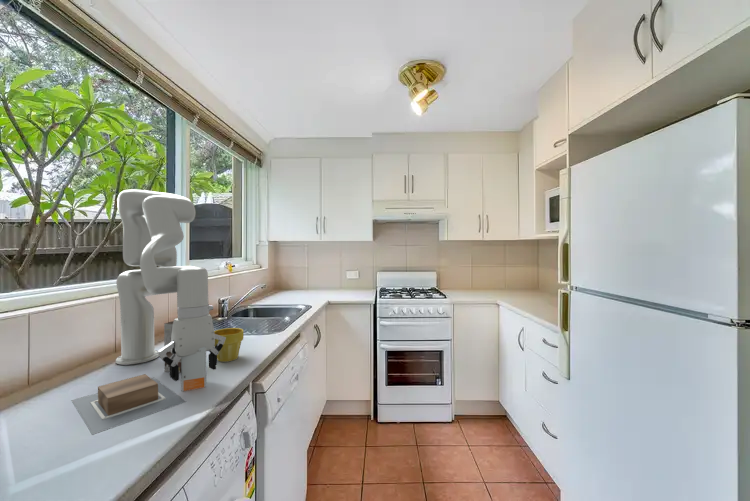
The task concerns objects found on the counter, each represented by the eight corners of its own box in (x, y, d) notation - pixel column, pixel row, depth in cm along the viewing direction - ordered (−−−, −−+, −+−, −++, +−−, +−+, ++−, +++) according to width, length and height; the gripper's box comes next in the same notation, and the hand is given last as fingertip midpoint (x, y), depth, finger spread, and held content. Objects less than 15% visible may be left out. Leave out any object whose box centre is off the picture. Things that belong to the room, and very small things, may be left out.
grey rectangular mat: (71, 404, 82) (71, 399, 82) (153, 380, 96) (153, 376, 96) (92, 439, 67) (92, 433, 67) (186, 405, 81) (186, 400, 81)
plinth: (98, 402, 81) (97, 386, 80) (145, 388, 88) (145, 374, 88) (108, 415, 74) (107, 398, 74) (158, 399, 82) (158, 383, 82)
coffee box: (181, 376, 99) (180, 324, 99) (163, 374, 100) (162, 323, 100) (202, 365, 108) (202, 317, 108) (186, 364, 109) (185, 316, 109)
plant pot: (249, 354, 118) (249, 328, 118) (232, 364, 108) (232, 335, 108) (224, 353, 120) (223, 327, 120) (205, 363, 110) (204, 334, 110)
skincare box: (181, 395, 86) (180, 350, 86) (182, 389, 90) (181, 346, 90) (206, 390, 89) (206, 347, 89) (206, 384, 93) (206, 343, 93)
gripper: (218, 306, 98) (219, 362, 98) (152, 316, 85) (153, 380, 85) (230, 308, 94) (231, 367, 94) (162, 319, 80) (164, 388, 80)
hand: (194, 373), depth 89 cm, fingers open, 9 cm apart
